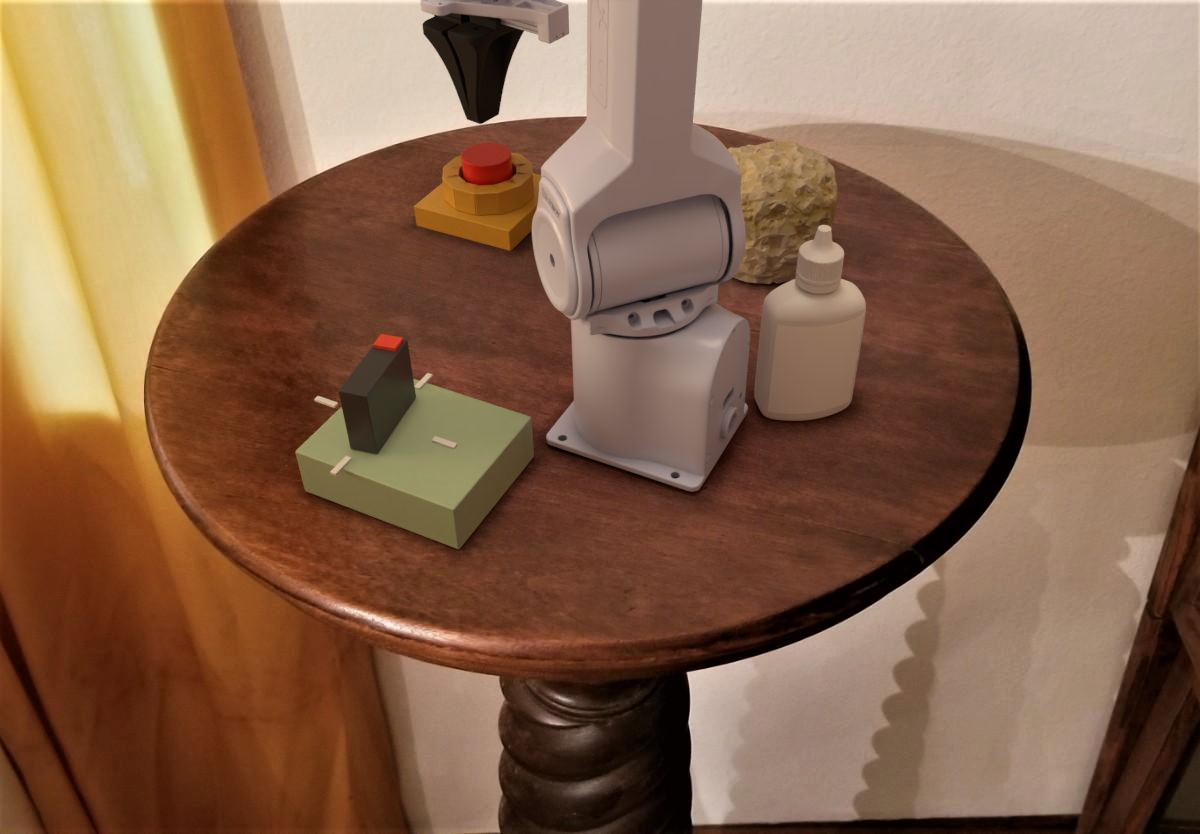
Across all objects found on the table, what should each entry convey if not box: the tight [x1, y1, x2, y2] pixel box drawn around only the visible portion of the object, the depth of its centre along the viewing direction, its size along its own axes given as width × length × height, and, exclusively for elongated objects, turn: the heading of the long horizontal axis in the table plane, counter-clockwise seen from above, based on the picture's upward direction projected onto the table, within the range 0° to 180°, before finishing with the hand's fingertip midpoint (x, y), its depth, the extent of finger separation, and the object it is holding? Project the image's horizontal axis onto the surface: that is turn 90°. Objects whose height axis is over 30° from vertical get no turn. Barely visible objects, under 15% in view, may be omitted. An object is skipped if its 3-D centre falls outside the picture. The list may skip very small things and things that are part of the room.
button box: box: [413, 151, 541, 252], centre depth 84 cm, size 8×8×4 cm
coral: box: [727, 138, 839, 285], centre depth 78 cm, size 9×9×8 cm
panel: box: [295, 372, 535, 550], centre depth 63 cm, size 12×9×3 cm
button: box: [460, 142, 513, 185], centre depth 83 cm, size 4×4×2 cm
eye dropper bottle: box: [753, 225, 867, 422], centre depth 64 cm, size 4×6×12 cm
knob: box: [338, 333, 416, 454], centre depth 61 cm, size 5×2×4 cm, turn 163°
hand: (483, 116), depth 80 cm, fingers closed
